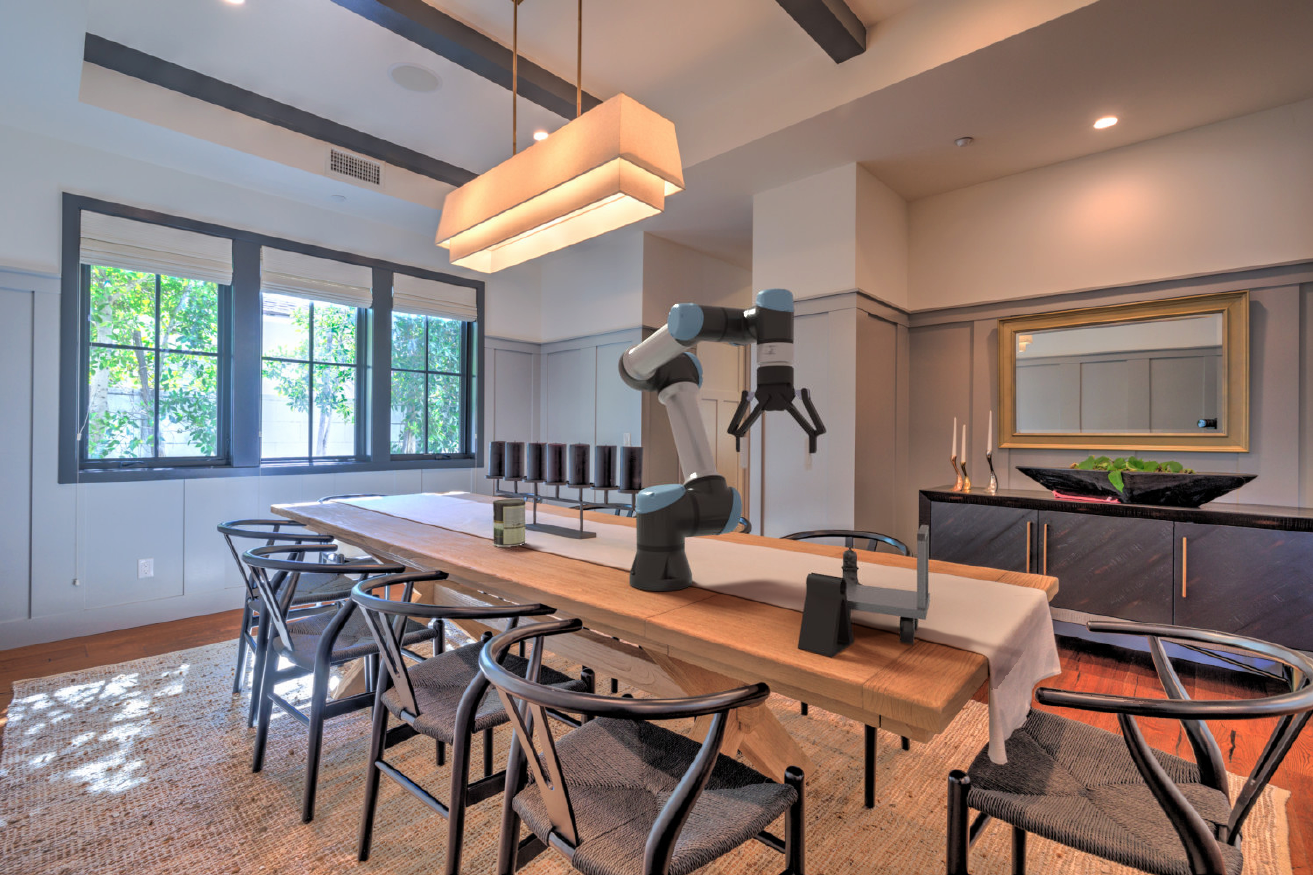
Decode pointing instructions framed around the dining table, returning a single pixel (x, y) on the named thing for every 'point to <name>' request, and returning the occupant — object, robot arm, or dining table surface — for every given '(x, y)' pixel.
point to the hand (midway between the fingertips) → (775, 469)
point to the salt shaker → (850, 567)
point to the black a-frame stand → (825, 616)
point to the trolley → (898, 595)
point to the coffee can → (509, 522)
